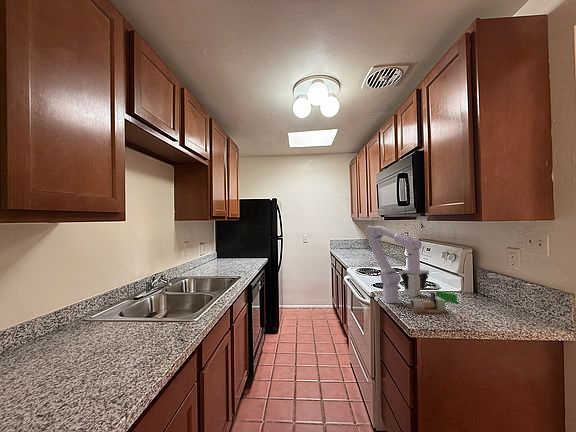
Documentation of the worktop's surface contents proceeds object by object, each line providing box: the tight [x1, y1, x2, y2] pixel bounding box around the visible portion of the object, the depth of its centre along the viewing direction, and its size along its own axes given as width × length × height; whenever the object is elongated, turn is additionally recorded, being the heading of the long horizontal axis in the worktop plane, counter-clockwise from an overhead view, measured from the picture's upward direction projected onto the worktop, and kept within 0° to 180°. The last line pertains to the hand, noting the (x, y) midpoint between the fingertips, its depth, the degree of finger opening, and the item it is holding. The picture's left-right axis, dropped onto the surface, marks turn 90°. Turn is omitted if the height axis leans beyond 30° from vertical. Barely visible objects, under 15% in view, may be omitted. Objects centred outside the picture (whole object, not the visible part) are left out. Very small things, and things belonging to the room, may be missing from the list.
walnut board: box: [406, 303, 449, 315], centre depth 138 cm, size 12×15×1 cm
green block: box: [435, 290, 458, 304], centre depth 153 cm, size 11×4×5 cm, turn 26°
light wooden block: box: [423, 291, 437, 307], centre depth 138 cm, size 3×8×7 cm, turn 88°
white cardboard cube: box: [410, 298, 425, 309], centre depth 138 cm, size 4×5×4 cm
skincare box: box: [403, 268, 421, 298], centre depth 166 cm, size 8×7×16 cm
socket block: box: [435, 296, 446, 310], centre depth 138 cm, size 7×4×5 cm, turn 178°
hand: (414, 288), depth 141 cm, fingers open, 7 cm apart
